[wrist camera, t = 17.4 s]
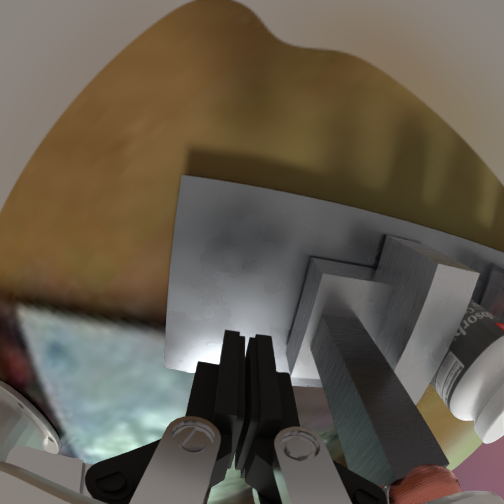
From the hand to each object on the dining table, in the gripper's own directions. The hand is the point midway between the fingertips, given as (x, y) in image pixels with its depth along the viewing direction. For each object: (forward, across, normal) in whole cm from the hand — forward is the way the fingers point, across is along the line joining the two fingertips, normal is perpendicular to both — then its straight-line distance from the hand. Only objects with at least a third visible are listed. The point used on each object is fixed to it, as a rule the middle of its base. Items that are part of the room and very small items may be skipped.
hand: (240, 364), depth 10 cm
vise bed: (+7, -9, 0) cm, 11 cm away
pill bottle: (+6, -14, 0) cm, 15 cm away
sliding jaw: (+6, -7, 0) cm, 9 cm away
